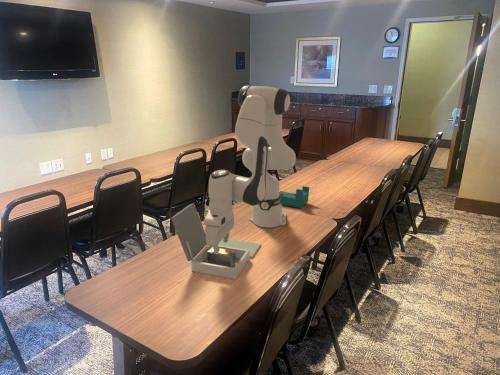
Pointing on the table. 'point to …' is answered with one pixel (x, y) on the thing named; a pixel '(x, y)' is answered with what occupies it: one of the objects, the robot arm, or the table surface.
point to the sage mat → (242, 246)
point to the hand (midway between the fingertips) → (221, 246)
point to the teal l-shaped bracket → (295, 197)
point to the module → (221, 257)
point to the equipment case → (217, 269)
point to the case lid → (190, 230)
